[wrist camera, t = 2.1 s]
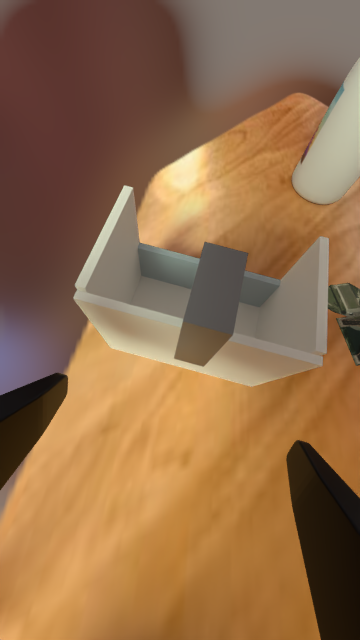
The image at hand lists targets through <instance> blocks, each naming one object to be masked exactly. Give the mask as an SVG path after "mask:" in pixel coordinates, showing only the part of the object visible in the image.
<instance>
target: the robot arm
mask: <svg viewBox="0 0 360 640" xmlns="http://www.w3.org/2000/svg"><path fill="white" fill-rule="evenodd" d="M67 389H68V376H67V375H64V374H61V373H55V374H52V375H50V376H47V377H45V378H42V379H40V380H37V381H35V382H32V383H30V384H27V385H25V386H23V387H20V388H17V389H15V390H13V391H10V392H8V393H5V394H3V395H0V490H1V489H2V487H3V486H4V485H5V483H6V482H7V480H9V478H10V477H11V475H12V474H13V473H14V472H15V470H16V469H17V468H18V466H19V465H20V464H21V462H22V461H23V460H24V458H25V457H26V456H27V455H28V453H29V452H30V451H31V449H32V448H33V447H34V445H35V444H36V443H37V441H38V440H39V439H40V437H41V436H42V434H43V433H44V431H45V430H46V428H47V427H48V425H49V423H50V422H51V420H52V419H53V417H54V415H55V414H56V412H57V410H58V409H59V407H60V406H61V404H62V402H63V401H64V399H65V397H66V395H67ZM287 469H288V477H289V485H290V494H291V501H292V507H293V512H294V517H295V522H296V526H297V531H298V536H299V540H300V545H301V549H302V554H303V559H304V563H305V568H306V573H307V577H308V582H309V586H310V591H311V596H312V600H313V605H314V610H315V614H316V619H317V623H318V628H319V633H320V637H321V640H360V498H359V497H358V496H357V495H356V494H355V493H354V492H353V491H352V489H351V488H350V487H349V486H348V485H347V484H346V483H345V482H344V481H343V480H342V479H341V478H340V476H339V475H338V474H337V473H336V472H335V471H334V470H333V469H332V468H331V467H330V466H329V464H328V463H327V462H326V461H325V460H324V459H323V458H322V457H321V456H320V455H319V454H318V453H317V451H316V450H315V449H314V448H313V447H312V446H311V445H310V444H309V443H307V442H304V441H300V440H297V441H295V443H294V444H293V446H292V447H291V449H290V451H289V452H288V454H287Z"/></svg>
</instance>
